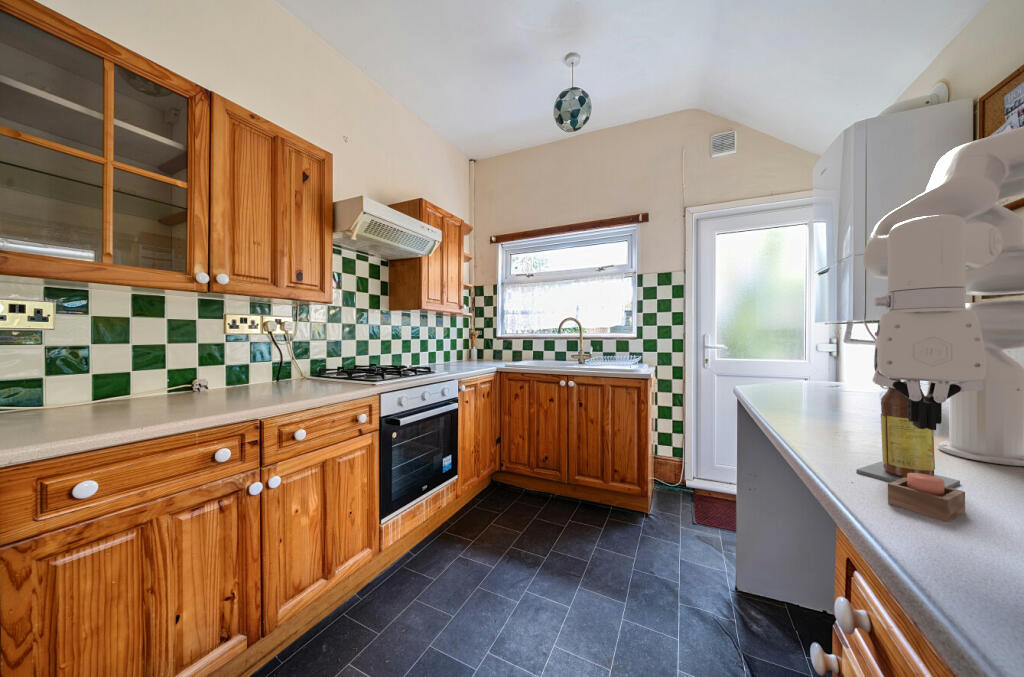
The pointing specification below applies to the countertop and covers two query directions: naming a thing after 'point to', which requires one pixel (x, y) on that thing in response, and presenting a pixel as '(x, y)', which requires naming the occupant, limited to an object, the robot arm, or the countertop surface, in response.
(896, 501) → the box
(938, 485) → the button
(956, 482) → the mat
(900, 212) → the robot arm
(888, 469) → the sauce bottle
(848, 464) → the countertop surface
